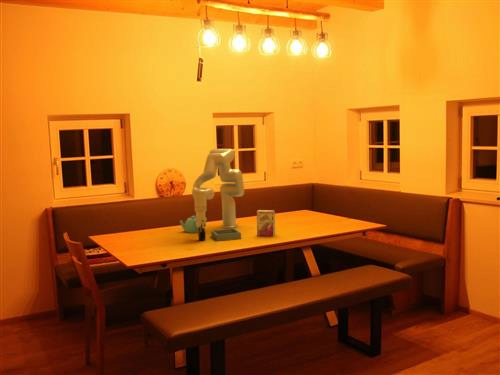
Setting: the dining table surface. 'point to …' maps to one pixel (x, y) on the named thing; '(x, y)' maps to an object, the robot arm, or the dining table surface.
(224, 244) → the dining table surface
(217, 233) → the trough
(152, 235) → the dining table surface
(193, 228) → the teapot
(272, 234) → the candy bar box
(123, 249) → the dining table surface
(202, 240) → the battery cell
